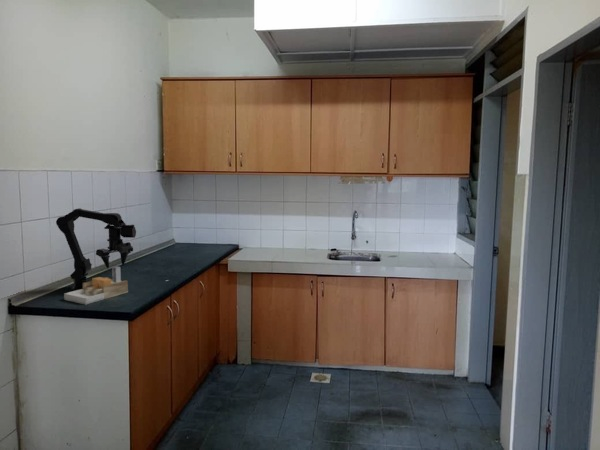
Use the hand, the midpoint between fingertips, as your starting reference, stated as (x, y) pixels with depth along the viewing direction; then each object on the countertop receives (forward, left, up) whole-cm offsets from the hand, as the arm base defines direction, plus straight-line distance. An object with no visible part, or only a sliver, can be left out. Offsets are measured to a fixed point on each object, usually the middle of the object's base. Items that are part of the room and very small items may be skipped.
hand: (115, 266), depth 228 cm
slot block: (+4, -10, -12) cm, 16 cm away
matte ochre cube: (+1, -12, -8) cm, 14 cm away
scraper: (-5, +4, -12) cm, 14 cm away
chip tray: (+4, -22, -12) cm, 25 cm away
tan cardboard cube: (+6, -12, -8) cm, 15 cm away
